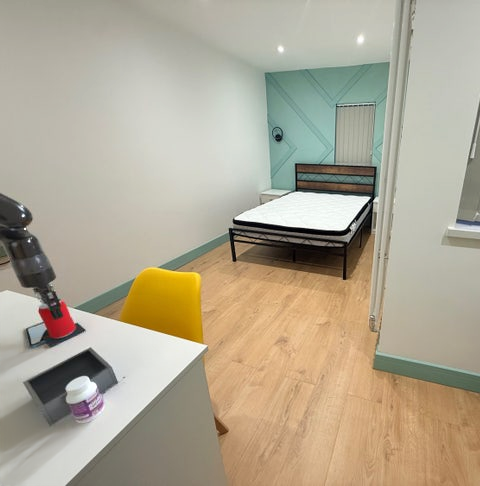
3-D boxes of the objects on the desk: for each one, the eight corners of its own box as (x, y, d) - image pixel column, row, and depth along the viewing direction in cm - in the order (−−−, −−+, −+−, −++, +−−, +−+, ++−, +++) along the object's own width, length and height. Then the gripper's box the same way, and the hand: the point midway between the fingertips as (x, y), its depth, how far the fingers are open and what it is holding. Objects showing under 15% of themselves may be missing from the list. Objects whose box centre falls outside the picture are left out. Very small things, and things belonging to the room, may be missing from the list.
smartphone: (53, 318, 96) (60, 334, 87) (54, 320, 96) (61, 337, 87) (24, 328, 90) (28, 347, 82) (25, 331, 91) (30, 350, 82)
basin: (49, 426, 59) (39, 409, 57) (32, 398, 66) (22, 382, 64) (118, 382, 70) (111, 366, 68) (97, 361, 77) (90, 347, 75)
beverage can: (73, 324, 91) (60, 295, 87) (79, 331, 88) (65, 301, 84) (49, 335, 87) (34, 304, 82) (53, 342, 83) (38, 311, 79)
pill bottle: (100, 419, 61) (86, 389, 57) (72, 427, 59) (55, 397, 56) (109, 399, 66) (96, 370, 62) (83, 406, 64) (68, 377, 60)
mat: (50, 347, 82) (49, 345, 82) (43, 339, 86) (42, 337, 85) (85, 331, 89) (85, 329, 89) (78, 324, 93) (77, 322, 93)
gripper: (9, 268, 79) (32, 313, 85) (22, 279, 72) (46, 329, 78) (43, 258, 85) (62, 302, 91) (58, 269, 78) (78, 315, 84)
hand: (55, 314), depth 84 cm, fingers closed on beverage can, 6 cm apart
